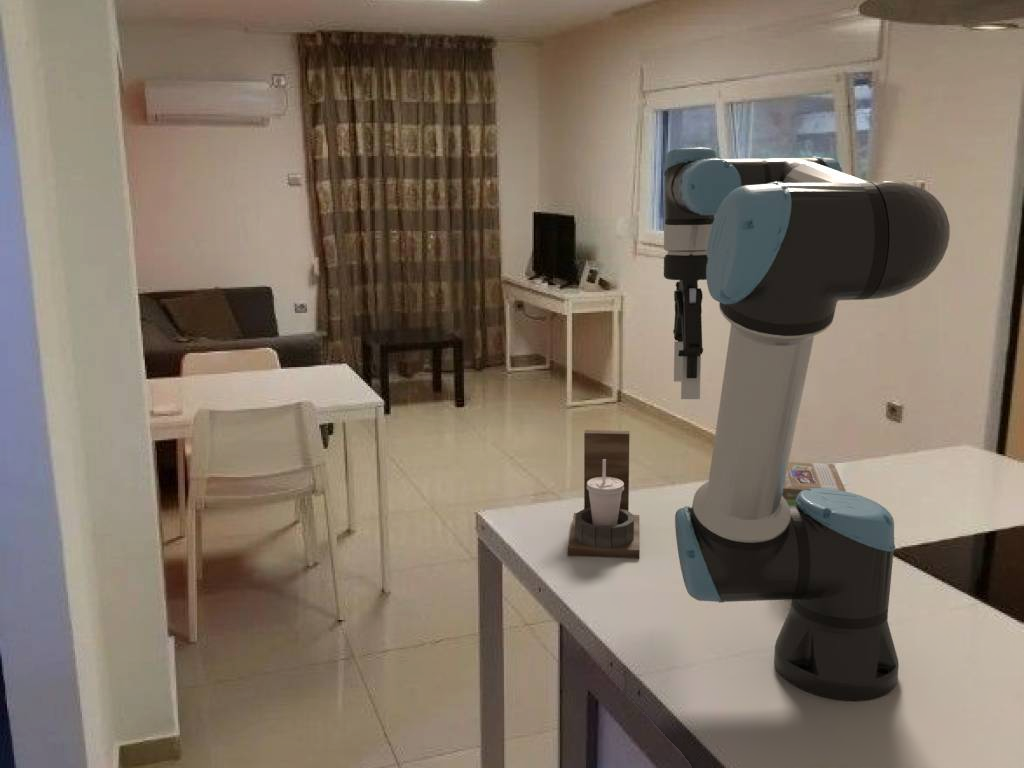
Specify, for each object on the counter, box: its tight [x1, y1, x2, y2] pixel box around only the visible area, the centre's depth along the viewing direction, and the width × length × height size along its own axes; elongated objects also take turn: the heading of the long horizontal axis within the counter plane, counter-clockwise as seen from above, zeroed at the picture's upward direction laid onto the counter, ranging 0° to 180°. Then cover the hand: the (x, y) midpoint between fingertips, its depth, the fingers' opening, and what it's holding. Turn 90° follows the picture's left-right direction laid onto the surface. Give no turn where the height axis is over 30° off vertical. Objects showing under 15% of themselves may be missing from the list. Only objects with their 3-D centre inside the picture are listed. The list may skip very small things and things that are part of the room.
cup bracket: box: [567, 429, 641, 559], centre depth 161 cm, size 16×12×18 cm
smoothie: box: [587, 459, 624, 526], centre depth 158 cm, size 6×6×14 cm
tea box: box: [782, 461, 847, 506], centre depth 152 cm, size 15×10×15 cm, turn 168°
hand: (686, 389), depth 145 cm, fingers open, 13 cm apart
